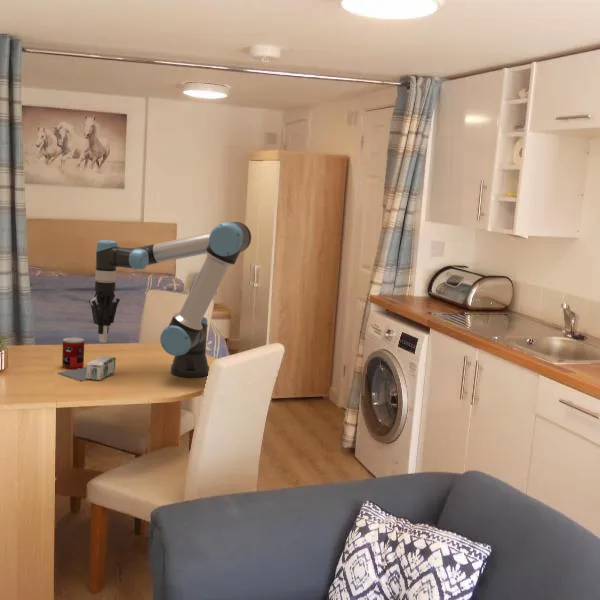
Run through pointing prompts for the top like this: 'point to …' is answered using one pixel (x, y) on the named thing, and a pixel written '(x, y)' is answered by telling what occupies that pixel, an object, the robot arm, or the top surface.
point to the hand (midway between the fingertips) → (102, 341)
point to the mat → (78, 374)
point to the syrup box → (100, 367)
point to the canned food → (73, 353)
